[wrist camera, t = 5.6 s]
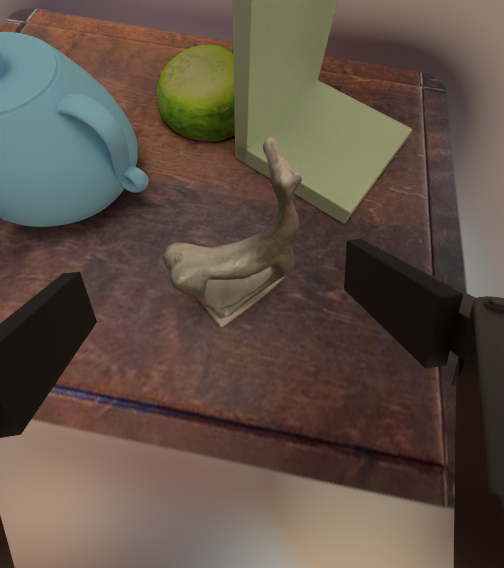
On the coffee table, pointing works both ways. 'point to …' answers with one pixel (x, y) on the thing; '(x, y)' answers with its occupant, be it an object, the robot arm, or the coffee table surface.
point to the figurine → (241, 254)
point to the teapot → (59, 138)
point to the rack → (304, 106)
